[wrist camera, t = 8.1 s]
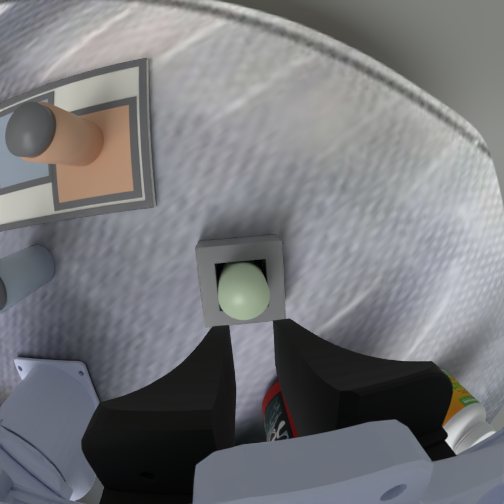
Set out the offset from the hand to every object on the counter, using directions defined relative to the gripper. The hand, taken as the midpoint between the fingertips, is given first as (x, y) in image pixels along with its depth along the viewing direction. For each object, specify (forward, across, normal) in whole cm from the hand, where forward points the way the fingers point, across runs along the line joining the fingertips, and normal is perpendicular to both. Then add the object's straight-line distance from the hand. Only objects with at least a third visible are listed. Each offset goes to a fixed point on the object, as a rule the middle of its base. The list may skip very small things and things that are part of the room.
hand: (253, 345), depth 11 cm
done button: (+9, 0, 0) cm, 9 cm away
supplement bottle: (+10, -17, +14) cm, 24 cm away
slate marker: (+9, +15, -2) cm, 18 cm away
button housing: (+9, 0, 0) cm, 9 cm away
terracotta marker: (+9, +10, -10) cm, 16 cm away
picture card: (+9, +12, -10) cm, 18 cm away
